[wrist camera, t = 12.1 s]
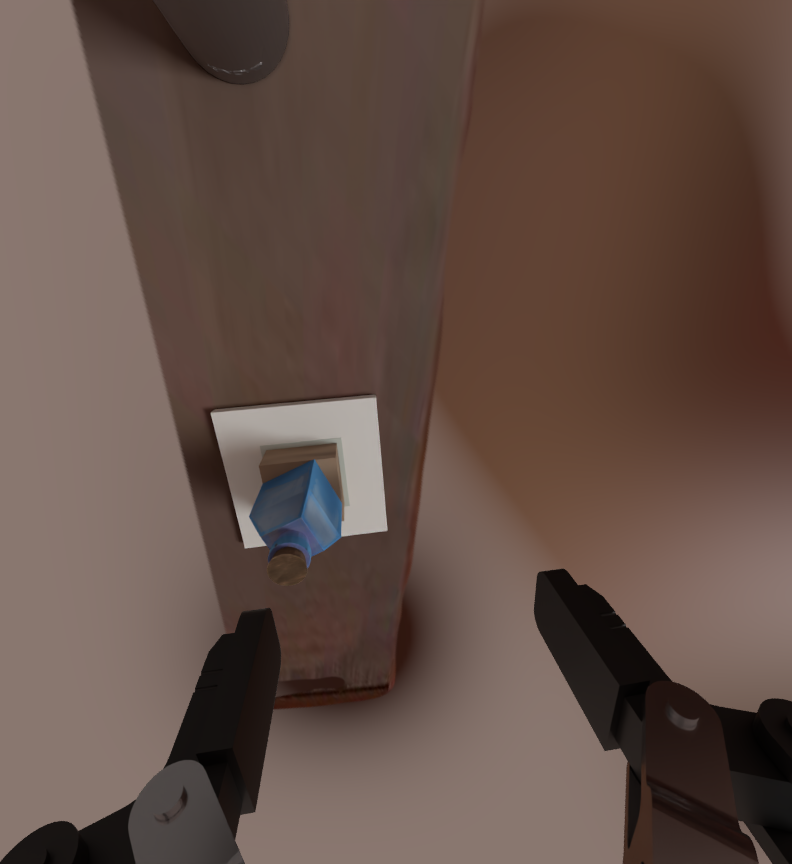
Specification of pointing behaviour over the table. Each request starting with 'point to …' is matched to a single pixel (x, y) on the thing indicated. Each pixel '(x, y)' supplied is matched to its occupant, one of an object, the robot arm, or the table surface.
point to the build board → (296, 427)
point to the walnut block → (294, 457)
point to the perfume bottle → (296, 520)
